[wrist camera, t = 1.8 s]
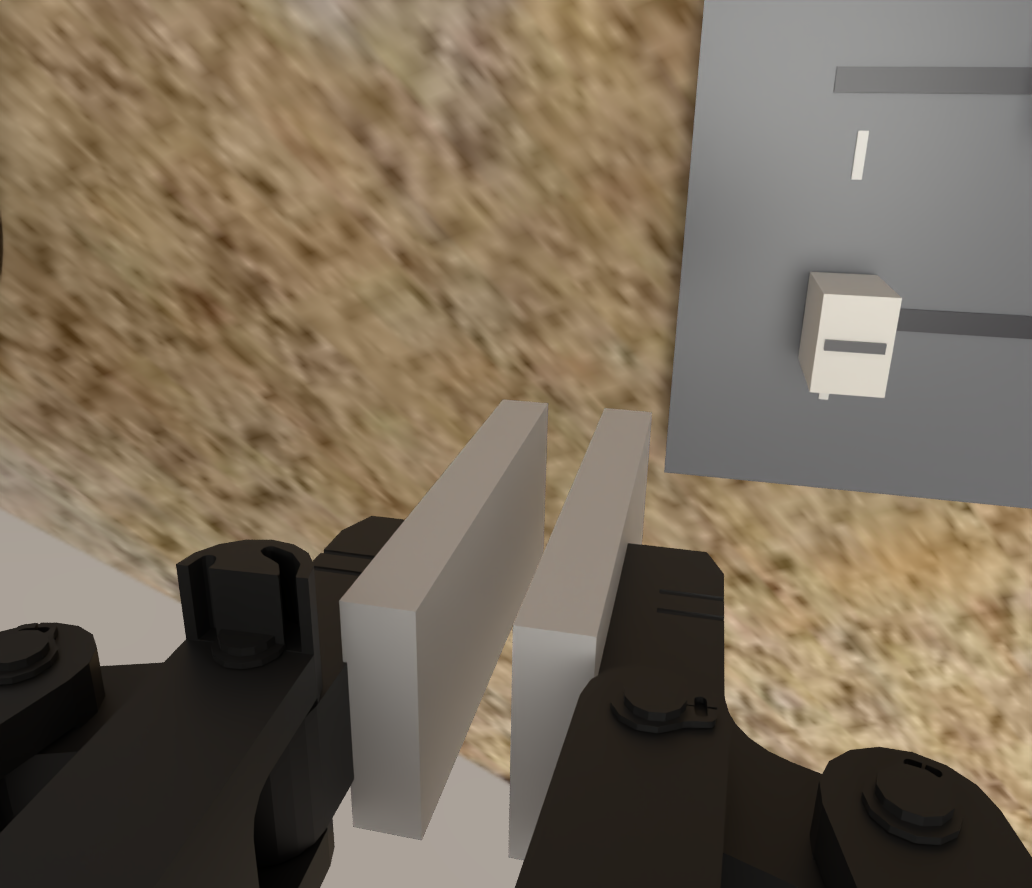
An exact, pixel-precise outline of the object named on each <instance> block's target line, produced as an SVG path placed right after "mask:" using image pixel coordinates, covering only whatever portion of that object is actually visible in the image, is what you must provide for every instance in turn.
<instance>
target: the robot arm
mask: <svg viewBox="0 0 1032 888" xmlns="http://www.w3.org/2000/svg"><path fill="white" fill-rule="evenodd" d="M651 420H652V412H644V411H632V410H621V409H609V408H604V411H603V413H602V416H601V418H600V420H599V423H598V425H597V427H596V430H595V432H594V434H593V437H592V439H591V442H590V444H589V446H588V449H587V451H586V453H585V456H584V458H583V461H582V463H581V465H580V468H579V470H578V472H577V475H576V477H575V480H574V482H573V484H572V487H571V489H570V491H569V494H568V496H567V498H566V501H565V503H564V506H563V508H562V510H561V513H560V515H559V517H558V520H557V522H556V525H555V527H554V529H553V532H552V534H551V536H550V539H549V541H548V544H547V546H546V548H545V551H544V553H543V548H544V517H545V487H546V456H547V425H548V403H539V402H527V401H515V400H504V399H503V400H502V401H501V403H500V404H499V405H498V406H497V407H496V409H495V410H494V411H493V412H492V414H491V415H490V416H489V417H488V419H487V420H486V421H485V422H484V423H483V425H482V426H481V427H480V428H479V430H478V431H477V432H476V433H475V435H474V436H473V437H472V438H471V439H470V441H469V442H468V443H467V444H466V446H465V447H464V448H463V449H462V450H461V452H460V453H459V454H458V455H457V457H456V458H455V459H454V460H453V462H452V463H451V464H450V465H449V466H448V468H447V469H446V470H445V471H444V473H443V474H442V475H441V476H440V478H439V479H438V480H437V481H436V482H435V484H434V485H433V486H432V487H431V489H430V490H429V491H428V492H427V494H426V495H425V496H424V497H423V498H422V500H421V501H420V502H419V503H418V505H417V506H416V507H415V508H414V509H413V511H412V512H411V513H410V514H409V516H408V517H407V518H406V519H405V520H402V519H394V518H385V517H377V516H370V517H368V518H366V519H364V520H362V521H360V522H358V523H356V524H354V525H352V526H350V527H348V528H346V529H344V530H342V531H341V532H340V533H339V534H338V535H337V536H336V537H335V538H334V539H333V541H332V542H331V543H330V544H329V545H328V546H327V547H326V548H325V549H324V553H320V554H319V555H318V556H317V557H316V558H315V559H314V561H313V562H312V560H311V558H310V555H309V553H307V552H306V551H304V550H302V549H301V548H299V547H297V546H296V545H294V544H289V543H284V542H280V541H275V540H242V541H235V542H229V543H223V544H218V545H215V546H213V547H210V548H207V549H204V550H201V551H198V552H195V553H193V554H192V555H190V556H189V557H187V558H185V559H184V560H182V561H181V562H179V563H177V564H176V568H177V575H178V582H179V590H180V597H181V604H182V612H183V619H184V626H185V633H186V640H185V641H184V642H183V643H182V644H181V645H180V646H179V647H178V648H177V649H176V650H175V651H174V652H173V654H172V655H171V656H170V657H169V658H168V659H167V660H166V661H165V662H162V663H149V664H132V665H116V666H100V663H99V657H98V652H97V647H96V643H95V640H94V637H93V634H91V633H89V632H88V631H86V630H84V629H82V628H81V627H79V626H74V625H68V624H62V623H40V624H38V623H32V624H24V625H21V626H18V627H17V628H13V629H9V630H5V631H1V632H0V888H320V886H321V884H322V882H323V880H324V878H325V876H326V874H327V872H328V869H329V867H330V864H331V859H332V855H333V851H334V833H333V820H332V818H333V816H334V814H335V812H336V810H337V809H338V807H339V805H340V803H341V802H342V800H343V798H344V796H345V795H346V793H347V791H348V789H349V787H350V786H351V798H352V814H353V827H357V828H362V829H367V830H372V831H377V832H382V833H387V834H392V835H397V836H402V837H407V838H413V839H418V840H422V839H423V836H424V834H425V832H426V829H427V827H428V824H429V822H430V820H431V817H432V815H433V813H434V810H435V808H436V806H437V803H438V800H439V798H440V796H441V794H442V791H443V789H444V787H445V784H446V782H447V779H448V777H449V775H450V772H451V770H452V768H453V765H454V763H455V760H456V758H457V756H458V753H459V751H460V749H461V746H462V744H463V742H464V739H465V737H466V735H467V732H468V730H469V727H470V725H471V723H472V720H473V718H474V716H475V713H476V711H477V708H478V706H479V704H480V701H481V699H482V697H483V694H484V692H485V690H486V687H487V685H488V682H489V680H490V678H491V675H492V673H493V671H494V668H495V666H496V664H497V661H498V659H499V656H500V654H501V652H502V649H503V647H504V645H505V642H506V640H507V637H508V635H509V633H510V630H511V628H512V626H513V652H512V704H511V756H510V809H509V858H514V859H519V860H524V862H523V865H522V868H521V871H520V874H519V877H518V880H517V883H516V886H515V888H1032V857H1031V855H1030V854H1029V852H1028V851H1027V849H1026V848H1025V846H1024V845H1023V843H1022V842H1021V840H1020V839H1019V837H1018V836H1017V834H1016V833H1015V831H1014V830H1013V828H1012V827H1011V825H1010V824H1009V822H1008V821H1007V819H1006V818H1005V816H1004V815H1003V813H1002V812H1001V810H1000V809H999V808H998V807H997V806H996V805H995V804H994V803H993V802H992V801H991V800H990V798H989V797H988V796H987V795H986V794H985V793H984V792H983V791H982V790H981V789H980V788H979V787H978V786H977V785H976V784H974V783H973V782H971V781H970V780H968V779H967V778H965V777H964V776H962V775H961V774H959V773H957V772H956V771H954V770H953V769H951V768H950V767H948V766H947V765H944V764H942V763H939V762H936V761H934V760H931V759H929V758H926V757H923V756H921V755H918V754H916V753H913V752H908V751H901V750H895V749H889V748H883V747H874V748H864V749H855V750H849V751H847V752H846V753H844V754H842V755H840V756H838V757H836V758H834V759H832V760H831V761H829V763H828V764H827V766H826V768H825V770H824V772H823V774H820V773H818V772H815V771H813V770H810V769H808V768H805V767H802V766H800V765H797V764H795V763H792V762H790V761H788V760H786V759H784V758H781V757H779V756H777V755H775V754H773V753H771V752H769V751H767V750H766V749H764V748H763V747H762V746H760V745H759V744H757V743H756V742H754V741H753V740H751V739H750V738H749V737H748V736H747V735H746V734H745V733H744V732H743V731H742V730H741V729H740V728H739V727H738V726H737V725H736V724H735V722H734V720H733V719H732V717H731V715H730V714H729V712H728V708H727V704H726V701H725V696H724V574H723V572H722V571H721V570H720V568H719V567H718V566H717V565H716V563H715V562H714V561H713V560H712V558H711V557H710V556H709V554H708V553H707V552H700V551H691V550H683V549H674V548H666V547H657V546H649V545H642V536H643V523H644V510H645V497H646V484H647V471H648V458H649V445H650V432H651ZM541 557H542V558H541ZM540 559H541V560H540ZM539 562H540V563H539ZM538 564H539V565H538ZM537 566H538V567H537ZM536 569H537V570H536ZM535 571H536V572H535ZM533 576H534V577H533ZM532 578H533V579H532ZM530 583H531V584H530ZM529 585H530V586H529ZM528 588H529V589H528ZM527 590H528V591H527ZM525 595H526V596H525ZM524 597H525V598H524ZM522 602H523V603H522ZM521 604H522V605H521ZM520 607H521V608H520ZM519 609H520V610H519ZM518 611H519V612H518ZM517 614H518V615H517ZM516 616H517V617H516ZM514 621H515V622H514ZM513 623H514V624H513Z"/></svg>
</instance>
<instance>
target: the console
mask: <svg viewBox="0 0 1032 888" xmlns="http://www.w3.org/2000/svg"><path fill="white" fill-rule="evenodd" d="M810 272H827V273H847V274H866V275H878V276H879V277H880V278H881V279H882V280H883V281H884V282H885V283H886V284H887V285H888V286H890V287H891V288H892V289H893V290H894V291H895V292H896V293H897V294H898V295H899V296H900V297H901V298H902V302H901V307H900V313H899V319H898V324H897V330H896V336H895V341H894V347H893V353H892V358H891V364H890V369H889V375H888V381H887V386H886V392H885V398H878V397H865V396H853V395H840V394H827V393H814V392H810V391H809V388H808V385H807V382H806V380H805V377H804V374H803V371H802V368H801V365H800V362H799V359H798V356H799V348H800V341H801V334H802V326H803V319H804V312H805V305H806V297H807V290H808V283H809V276H810ZM664 472H667V473H677V474H687V475H697V476H707V477H718V478H728V479H738V480H748V481H758V482H768V483H778V484H788V485H798V486H808V487H818V488H828V489H838V490H849V491H859V492H869V493H879V494H889V495H899V496H909V497H919V498H929V499H939V500H949V501H959V502H970V503H980V504H990V505H1000V506H1010V507H1020V508H1030V509H1032V0H704V11H703V23H702V35H701V46H700V58H699V70H698V82H697V93H696V105H695V117H694V129H693V141H692V152H691V164H690V176H689V188H688V199H687V211H686V223H685V235H684V246H683V258H682V270H681V282H680V293H679V305H678V317H677V329H676V340H675V352H674V364H673V376H672V387H671V399H670V411H669V423H668V434H667V446H666V458H665V470H664Z"/></svg>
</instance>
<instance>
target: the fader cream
mask: <svg viewBox="0 0 1032 888" xmlns="http://www.w3.org/2000/svg"><path fill="white" fill-rule="evenodd" d="M901 302H902V298H901V297H900V296H899V295H898V294H897V293H896V292H895V291H894V290H893V289H892V288H891V287H890V286H888V285H887V284H886V283H885V282H884V281H883V280H882V279H881V278H880V277H879V276H878V275H866V274H847V273H827V272H810V276H809V283H808V290H807V297H806V305H805V312H804V319H803V326H802V334H801V341H800V348H799V356H798V359H799V362H800V365H801V368H802V371H803V374H804V377H805V380H806V382H807V385H808V388H809V391H810V392H814V393H827V394H840V395H853V396H865V397H878V398H885V392H886V386H887V381H888V375H889V369H890V364H891V358H892V353H893V347H894V341H895V336H896V330H897V324H898V319H899V313H900V307H901Z"/></svg>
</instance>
